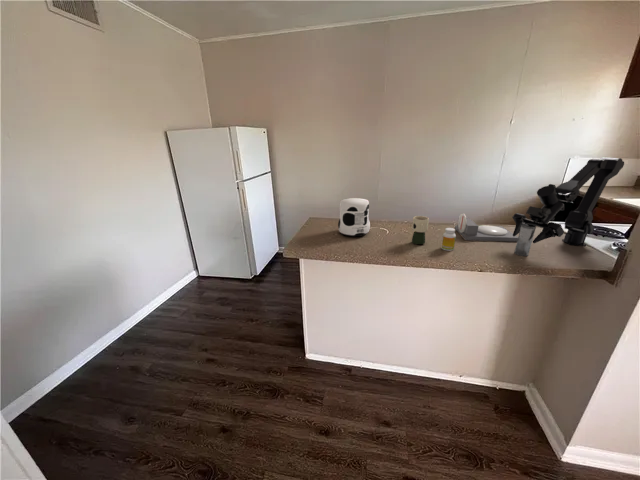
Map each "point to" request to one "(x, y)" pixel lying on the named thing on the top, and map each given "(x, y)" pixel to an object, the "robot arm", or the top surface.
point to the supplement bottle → (448, 239)
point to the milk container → (354, 217)
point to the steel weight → (525, 239)
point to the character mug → (419, 229)
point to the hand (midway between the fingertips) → (522, 239)
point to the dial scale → (482, 231)
